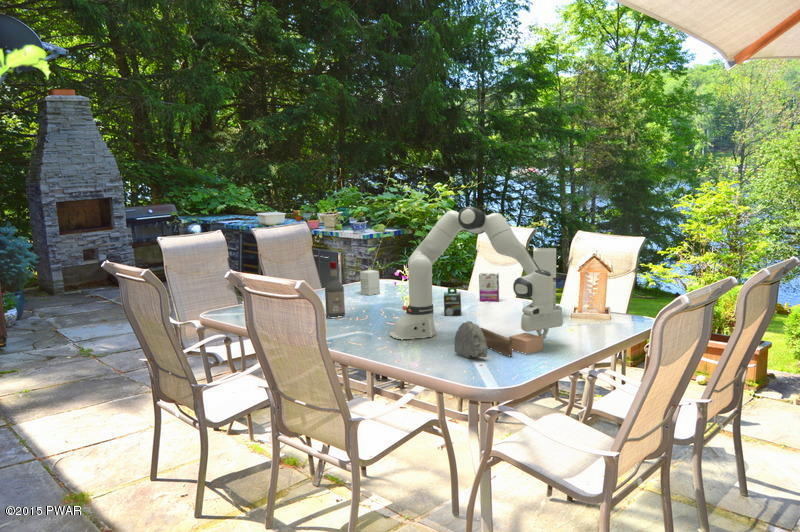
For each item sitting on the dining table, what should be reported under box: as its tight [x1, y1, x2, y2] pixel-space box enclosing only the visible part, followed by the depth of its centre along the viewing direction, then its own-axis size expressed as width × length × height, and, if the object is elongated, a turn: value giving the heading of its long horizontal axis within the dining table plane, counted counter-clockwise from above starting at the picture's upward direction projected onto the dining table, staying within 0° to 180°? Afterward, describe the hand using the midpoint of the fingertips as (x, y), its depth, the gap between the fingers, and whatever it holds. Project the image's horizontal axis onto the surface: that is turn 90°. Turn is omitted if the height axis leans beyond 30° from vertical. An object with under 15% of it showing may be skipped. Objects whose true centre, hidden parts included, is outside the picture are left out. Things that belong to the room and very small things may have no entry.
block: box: [508, 332, 544, 355], centre depth 270 cm, size 10×10×6 cm
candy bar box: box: [478, 272, 500, 302], centre depth 370 cm, size 11×5×16 cm, turn 73°
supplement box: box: [359, 269, 381, 296], centre depth 402 cm, size 9×9×15 cm
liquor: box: [324, 261, 346, 318], centre depth 341 cm, size 9×9×30 cm
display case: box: [532, 247, 557, 306], centre depth 328 cm, size 11×11×35 cm
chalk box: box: [443, 287, 462, 317], centre depth 340 cm, size 9×9×15 cm
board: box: [480, 327, 513, 357], centre depth 272 cm, size 2×24×7 cm, turn 25°
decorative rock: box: [453, 320, 488, 359], centre depth 262 cm, size 16×7×15 cm, turn 33°
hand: (542, 338), depth 274 cm, fingers closed
